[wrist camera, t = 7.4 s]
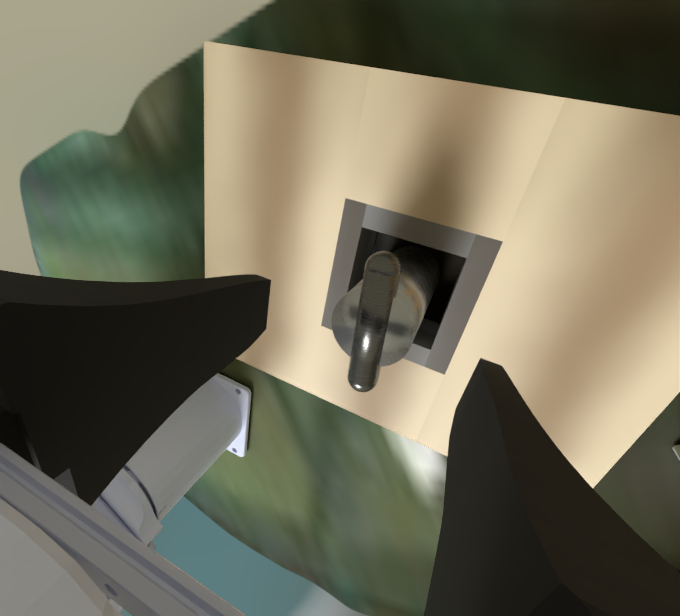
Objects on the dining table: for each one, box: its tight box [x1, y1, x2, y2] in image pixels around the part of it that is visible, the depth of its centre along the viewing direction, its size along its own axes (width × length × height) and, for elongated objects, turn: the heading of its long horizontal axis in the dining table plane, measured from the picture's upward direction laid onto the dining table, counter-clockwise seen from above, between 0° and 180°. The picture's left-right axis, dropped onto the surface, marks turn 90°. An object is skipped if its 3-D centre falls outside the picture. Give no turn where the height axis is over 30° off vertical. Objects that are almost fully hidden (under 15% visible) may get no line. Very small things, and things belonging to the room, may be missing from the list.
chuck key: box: [331, 246, 440, 392], centre depth 14 cm, size 3×6×7 cm, turn 174°
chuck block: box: [204, 41, 680, 488], centre depth 16 cm, size 22×16×3 cm
